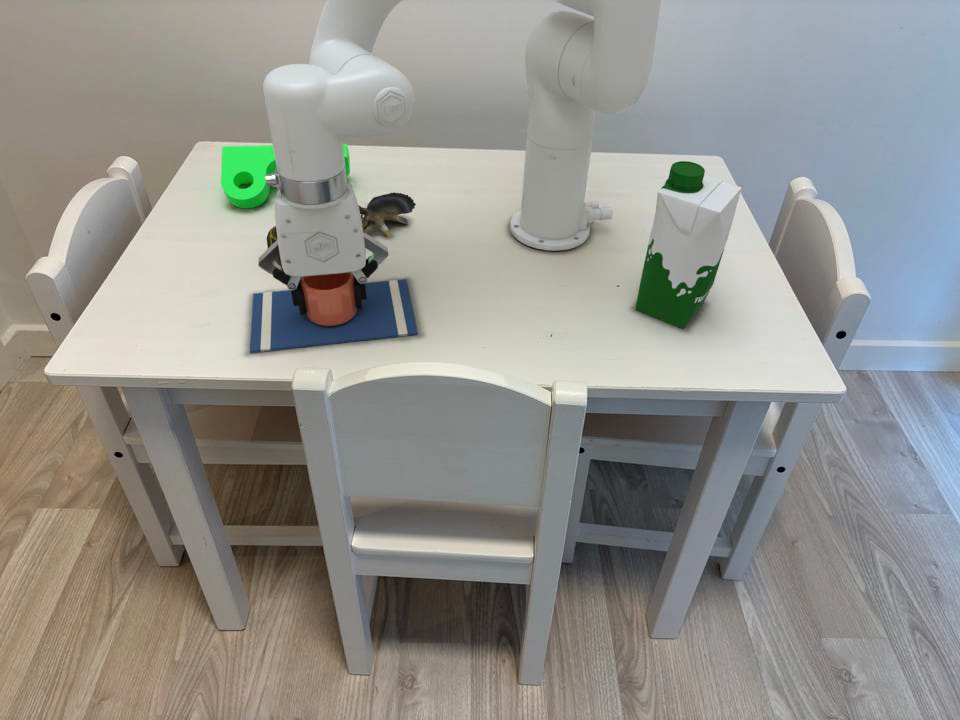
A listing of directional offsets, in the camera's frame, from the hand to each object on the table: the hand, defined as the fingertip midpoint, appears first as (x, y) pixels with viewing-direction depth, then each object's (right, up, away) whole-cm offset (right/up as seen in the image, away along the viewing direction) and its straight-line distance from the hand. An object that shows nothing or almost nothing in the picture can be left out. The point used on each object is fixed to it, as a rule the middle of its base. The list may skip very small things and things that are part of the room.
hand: (331, 304), depth 90 cm
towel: (0, -1, +1) cm, 2 cm away
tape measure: (-8, +9, +12) cm, 17 cm away
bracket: (-12, +21, +25) cm, 34 cm away
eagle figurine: (+4, +13, +17) cm, 22 cm away
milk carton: (+46, 0, +5) cm, 46 cm away
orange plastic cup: (0, -1, +1) cm, 1 cm away
